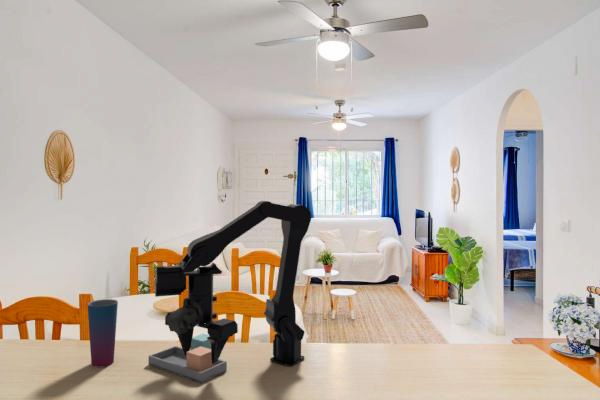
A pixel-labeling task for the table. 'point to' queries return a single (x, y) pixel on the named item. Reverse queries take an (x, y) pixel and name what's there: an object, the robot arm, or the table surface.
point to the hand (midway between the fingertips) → (200, 359)
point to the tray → (184, 365)
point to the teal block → (200, 341)
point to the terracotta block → (199, 359)
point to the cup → (102, 331)
